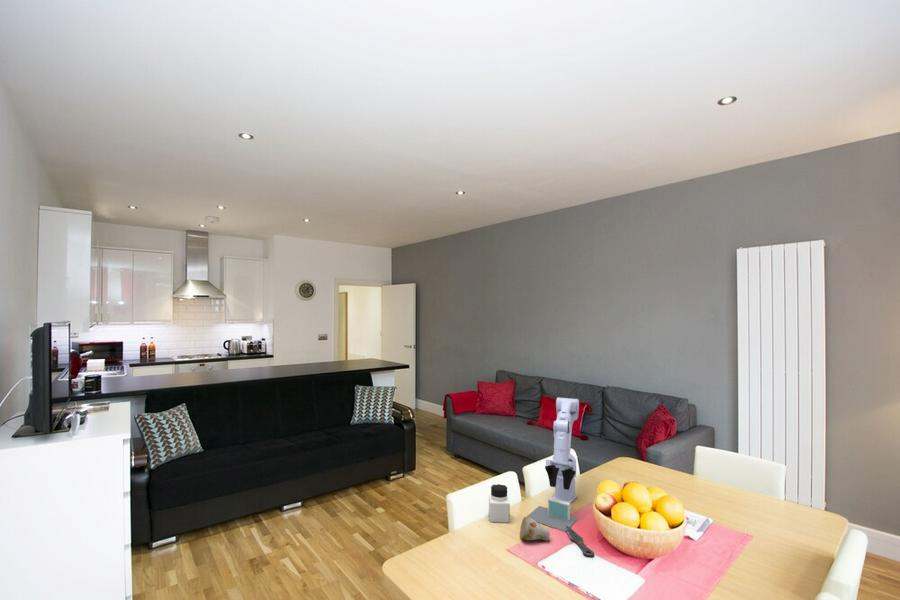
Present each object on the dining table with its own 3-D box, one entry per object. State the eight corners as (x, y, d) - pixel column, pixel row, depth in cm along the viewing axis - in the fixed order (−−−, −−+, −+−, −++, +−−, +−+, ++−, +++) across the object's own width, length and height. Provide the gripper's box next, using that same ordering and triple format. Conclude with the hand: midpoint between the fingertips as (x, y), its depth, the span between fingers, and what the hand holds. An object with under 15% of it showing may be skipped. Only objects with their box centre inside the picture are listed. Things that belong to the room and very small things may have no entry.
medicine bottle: (509, 522, 154) (509, 489, 154) (489, 522, 154) (490, 489, 155) (507, 513, 161) (507, 482, 162) (488, 513, 161) (489, 481, 162)
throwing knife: (584, 557, 132) (584, 555, 132) (558, 525, 152) (559, 523, 152) (597, 556, 133) (597, 554, 133) (570, 524, 152) (570, 523, 152)
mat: (539, 506, 168) (539, 505, 168) (578, 518, 158) (578, 517, 158) (524, 518, 157) (524, 517, 157) (566, 532, 148) (566, 531, 148)
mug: (554, 546, 139) (541, 521, 138) (527, 555, 141) (514, 531, 140) (551, 529, 147) (539, 506, 145) (525, 538, 148) (513, 515, 147)
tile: (549, 513, 161) (549, 497, 162) (570, 519, 157) (570, 503, 157) (547, 515, 160) (548, 499, 160) (568, 521, 155) (568, 504, 156)
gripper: (556, 448, 159) (554, 486, 154) (581, 454, 166) (580, 491, 161) (542, 447, 165) (540, 484, 159) (567, 453, 172) (566, 489, 166)
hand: (559, 488), depth 160 cm, fingers open, 7 cm apart
